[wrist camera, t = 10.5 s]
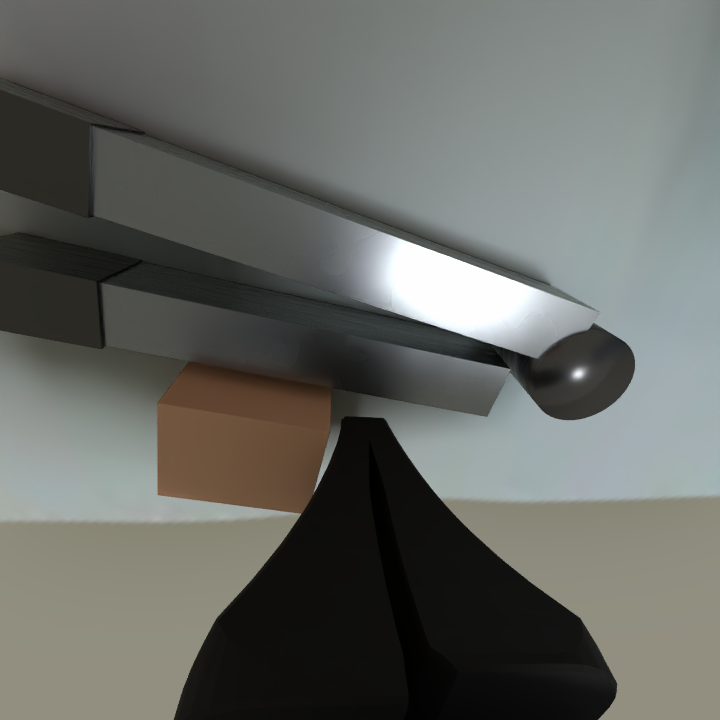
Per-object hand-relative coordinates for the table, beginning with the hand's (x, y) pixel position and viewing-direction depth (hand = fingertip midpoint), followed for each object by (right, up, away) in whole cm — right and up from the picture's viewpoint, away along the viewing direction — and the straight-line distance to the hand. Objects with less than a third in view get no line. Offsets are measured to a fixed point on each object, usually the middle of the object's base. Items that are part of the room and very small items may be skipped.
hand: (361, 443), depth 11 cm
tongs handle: (-3, +4, 0) cm, 5 cm away
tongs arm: (-1, +5, -1) cm, 5 cm away
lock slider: (-3, +1, +1) cm, 4 cm away
